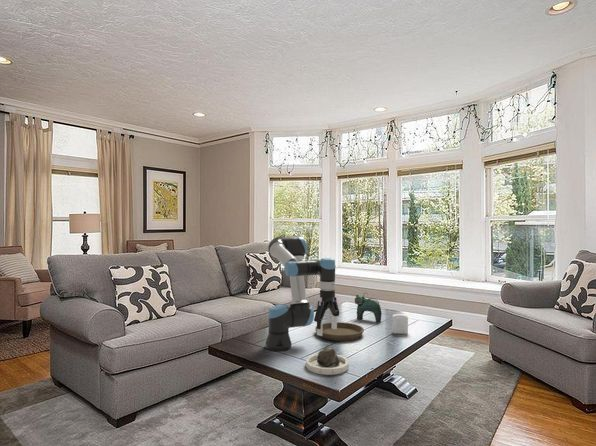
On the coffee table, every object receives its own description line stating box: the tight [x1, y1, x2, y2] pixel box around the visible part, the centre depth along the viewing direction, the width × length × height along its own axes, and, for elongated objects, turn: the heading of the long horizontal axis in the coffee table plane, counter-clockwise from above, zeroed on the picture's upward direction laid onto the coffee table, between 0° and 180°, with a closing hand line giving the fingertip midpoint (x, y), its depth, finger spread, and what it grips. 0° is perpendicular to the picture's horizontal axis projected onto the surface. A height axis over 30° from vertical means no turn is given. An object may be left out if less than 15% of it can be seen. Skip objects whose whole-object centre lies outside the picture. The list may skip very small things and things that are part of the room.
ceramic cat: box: [354, 292, 382, 323], centre depth 275 cm, size 20×6×20 cm, turn 55°
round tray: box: [305, 353, 350, 376], centre depth 186 cm, size 21×21×3 cm
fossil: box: [317, 347, 340, 368], centre depth 187 cm, size 11×9×10 cm
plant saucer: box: [314, 321, 365, 342], centre depth 239 cm, size 31×31×5 cm
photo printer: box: [391, 313, 409, 335], centre depth 242 cm, size 10×4×12 cm, turn 84°
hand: (327, 332), depth 186 cm, fingers open, 13 cm apart
